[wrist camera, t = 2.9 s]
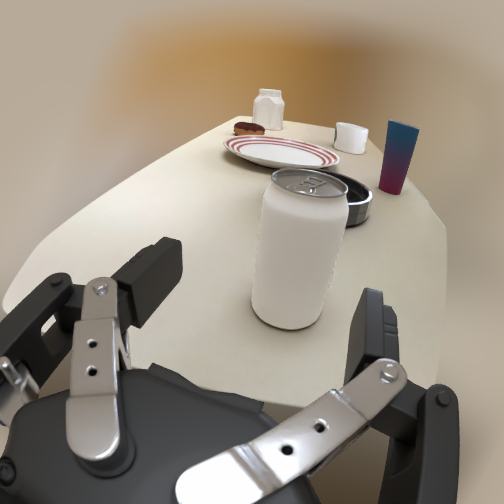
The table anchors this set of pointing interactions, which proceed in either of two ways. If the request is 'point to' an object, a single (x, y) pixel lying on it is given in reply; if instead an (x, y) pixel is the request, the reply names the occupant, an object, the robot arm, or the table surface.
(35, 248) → the table surface
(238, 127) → the donut
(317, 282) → the can
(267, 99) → the jar
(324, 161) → the dinner plate
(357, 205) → the pan
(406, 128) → the cup
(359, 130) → the mug
